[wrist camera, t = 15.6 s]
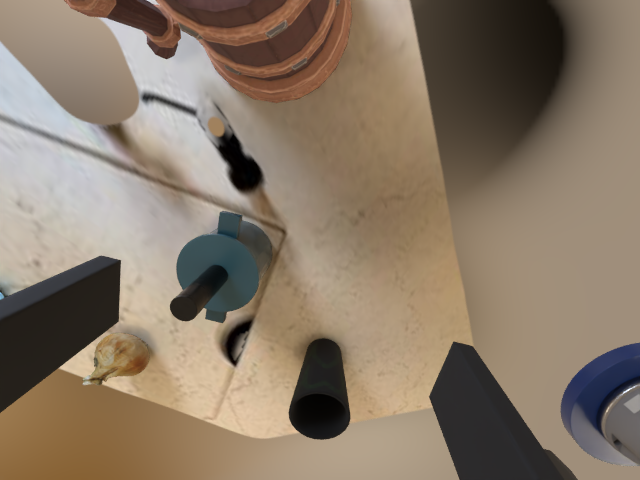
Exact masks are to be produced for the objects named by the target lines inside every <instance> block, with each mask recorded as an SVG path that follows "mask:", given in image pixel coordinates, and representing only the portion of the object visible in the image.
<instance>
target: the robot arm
mask: <svg viewBox="0 0 640 480" xmlns="http://www.w3.org/2000/svg"><path fill="white" fill-rule="evenodd" d="M120 268H121V260H117V259H113V258H109V257H105V256H99V257H97V258H94V259H92V260H90V261H87V262H85V263H83V264H81V265H78V266H76V267H74V268H71V269H69V270H67V271H65V272H62V273H60V274H58V275H55V276H53V277H51V278H49V279H46V280H44V281H42V282H39V283H37V284H35V285H33V286H30V287H28V288H26V289H23V290H21V291H19V292H17V293H14V294H12V295H10V296H7V297H5V298H3V299H1V300H0V413H1V412H2V411H3V410H4V409H6V408H7V407H8V406H10V405H11V404H12V403H14V402H15V401H16V400H17V399H19V398H20V397H21V396H23V395H24V394H25V393H26V392H28V391H29V390H30V389H32V388H33V387H34V386H36V385H37V384H38V383H39V382H41V381H42V380H43V379H45V378H46V377H47V376H49V375H50V374H51V373H52V372H54V371H55V370H56V369H58V368H59V367H60V366H62V365H63V364H64V363H65V362H67V361H68V360H69V359H71V358H72V357H73V356H74V355H76V354H77V353H78V352H80V351H81V350H82V349H84V348H85V347H86V346H87V345H89V344H90V343H91V342H93V341H94V340H95V339H97V338H98V337H99V336H100V335H102V334H103V333H104V332H106V331H107V330H108V329H109V328H111V327H112V326H113V325H115V324H116V323H117V322H119V295H120ZM429 398H430V400H431V403H432V406H433V409H434V411H435V414H436V416H437V419H438V422H439V425H440V428H441V430H442V433H443V436H444V438H445V441H446V444H447V447H448V449H449V452H450V455H451V457H452V460H453V463H454V466H455V468H456V471H457V474H458V476H459V479H460V480H577V478H576V477H575V475H574V474H573V473H572V471H571V470H570V469H569V468H568V467H567V466H566V465H564V464H563V462H562V461H561V460H559V458H558V457H556V456H555V454H553V453H552V452H551V451H550V450H546V449H543V448H542V446H541V445H540V443H539V442H538V441H537V439H536V438H535V436H534V435H533V433H532V432H531V430H530V429H529V428H528V426H527V425H526V423H525V422H524V420H523V419H522V417H521V416H520V414H519V413H518V411H517V410H516V409H515V407H514V406H513V404H512V403H511V401H510V400H509V398H508V397H507V395H506V394H505V393H504V391H503V390H502V388H501V387H500V385H499V384H498V382H497V381H496V380H495V378H494V377H493V375H492V374H491V372H490V371H489V369H488V368H487V367H486V365H485V364H484V362H483V361H482V359H481V358H480V356H479V355H478V353H477V352H476V350H475V349H474V347H473V346H470V345H466V344H462V343H457V342H453V344H452V346H451V348H450V350H449V353H448V355H447V357H446V359H445V362H444V364H443V366H442V369H441V371H440V373H439V375H438V378H437V380H436V382H435V384H434V387H433V389H432V391H431V394H430V396H429ZM596 423H597V427H598V430H599V432H600V433H601V435H602V436H603V437H604V438H605V439H606V440H607V441H608V443H609V444H610V445H611V446H612V447H613V448H615V449H616V450H617V451H618V452H620V453H621V454H622V455H624V456H625V457H627V458H628V459H630V460H631V461H633V462H634V463H636V464H637V465H639V466H640V376H639V377H636V378H633V379H631V380H628V381H626V382H624V383H623V384H621V385H619V386H618V387H616V388H615V389H614V390H612V391H611V392H610V393H609V394H608V395H607V396H606V397H605V399H604V400H603V401H602V403H601V405H600V407H599V409H598V412H597V416H596Z"/></svg>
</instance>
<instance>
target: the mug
mask: <svg viewBox="0 0 640 480" xmlns="http://www.w3.org/2000/svg"><path fill="white" fill-rule="evenodd" d="M64 1H65V2H66V3H67V4H68V5H69V6H70V7H71V8H72V9H74V10H77V11H78V12H81V13H83V14H85V15H87V16H91V17H103V18H108V19H111V20H114V21H117V22H119V23H122V24H125V25H128V26H131V27H134V28H137V29H140V30H142V31H143V32H144V33H145V34H146V35H147V44H148V45H149V47H150V48H151V49H152V51H153V52H154V53H155V54H156V55H158V56H160V57H162V58H165V59H168V58H170V57H172V56H174V55H175V52H176V49H177V46H178V41H179V40H180V39H181V33H180V29H181V30H182V31H184V32H186V33H188V34H189V35H191V36H193V37H195V38H196V39H197V40H198V41H199V42H200V43H201V44H202V45H203V46H204V48H205V50H206V52H207V54H208V56H209V58H210V60H211V62H212V64H213V65H214V67H215V69H216V70H217V71H218V72H219V73H220V74H221V75H222V76H223V78H224V79H225V80H226V81H227V82H228V83H229V84H230V85H231V86H232V87H233V88H235V89H237V90H238V91H240V92H242V93H244V94H246V95H248V96H249V97H251V98H253V99H257V100H263V101H269V102H274V103H278V102H283V101H289V100H295V99H299V98H301V97H303V96H304V95H306V94H308V93H310V92H311V91H313V90H315V89H317V88H318V87H319V86H320V85H321V84H322V83H323V82H324V81H325V80H326V79H327V78H328V77H329V75H330V74H331V73H332V72H333V71H334V70H335V69H336V67H337V65H338V63H339V60H340V58H341V56H342V54H343V52H344V50H345V48H346V46H347V42H348V36H349V30H350V25H351V19H352V12H351V2H350V0H156V1H157V2H158V3H159V4H160V5H154V4H152V3H150V2H148V1H146V0H64Z"/></svg>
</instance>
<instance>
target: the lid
mask: <svg viewBox="0 0 640 480" xmlns="http://www.w3.org/2000/svg"><path fill="white" fill-rule="evenodd" d="M177 277H178V280H179V283H180V285H181V287H182V289H183V291H182V292H181V293H180V294H179V295H178V296H176V297H175V298H174V299H173V300H172V302H171V304H170V310H171V312H172V314H173V315H174V316H175V317H176V318H177V319H179V320H181V321H190V320H192V319H194V318H195V317H196V316H197V315H198V313H199V312H200V311H201V310H202V309H203V308H206V309H209V310H212V311H217V312H228V311H233V310H237V309H239V308H241V307H243V306H244V305H246V304H247V303H248V302H249V301H250V300H251V299H252V298H253V296H254V295H255V293H256V291H257V289H258V286H259V280H260V273H259V267H258V264H257V262H256V259H255V257H254V256H253V254H252V253H251V252H250V250H249V249H248V248H247V247H246V246H245V245H244V244H242V243H241V242H240V241H238V240H236V239H235V238H232V237H230V236H227V235H223V234H215V233H212V234H205V235H201V236H198V237H196V238H195V239H193V240H191V241H190V242H189V243H187V244H186V245H185V246H184V248H183V249H182V250H181V252H180V254H179V257H178V260H177Z"/></svg>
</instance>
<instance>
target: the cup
mask: <svg viewBox="0 0 640 480" xmlns="http://www.w3.org/2000/svg"><path fill="white" fill-rule="evenodd" d="M289 419H290V421H291V424H292V425H293V426H294V428H295V429H296V430H297V431H298V432H300V433H301V434H303V435H305V436H307V437H309V438H313V439H321V440H322V439H330V438H334V437H336V436H338V435H340V434H341V433H342V432H343V431H345V430H346V428H347V427H348V425H349V422H350V409H349V402H348V396H347V389H346V382H345V376H344V369H343V362H342V356H341V350H340V347H339V346H338V345H337V344H336V343H335V342H334V341H332V340H329V339H324V338H322V339H317V340H315V341H313V342H312V343H311V344H310V345H309V347H308V349H307V352H306V355H305V359H304V362H303V365H302V368H301V372H300V375H299V378H298V382H297V385H296V388H295V391H294V395H293V398H292V401H291V405H290V408H289Z"/></svg>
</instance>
